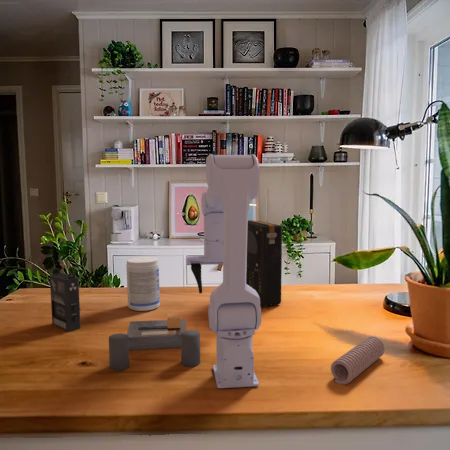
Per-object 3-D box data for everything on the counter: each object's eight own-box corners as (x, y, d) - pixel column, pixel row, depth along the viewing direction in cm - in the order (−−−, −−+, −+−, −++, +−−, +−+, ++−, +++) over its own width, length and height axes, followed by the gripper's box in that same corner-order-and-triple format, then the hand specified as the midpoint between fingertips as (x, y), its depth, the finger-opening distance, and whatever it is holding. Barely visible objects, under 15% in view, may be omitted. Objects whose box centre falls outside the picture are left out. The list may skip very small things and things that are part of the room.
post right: (200, 366, 94) (200, 336, 93) (181, 367, 93) (181, 337, 92) (199, 358, 97) (199, 329, 97) (181, 359, 97) (180, 330, 96)
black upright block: (236, 296, 146) (236, 220, 143) (259, 292, 149) (259, 219, 146) (260, 309, 132) (260, 225, 128) (284, 305, 135) (285, 224, 132)
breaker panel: (187, 347, 104) (187, 333, 103) (126, 350, 102) (125, 336, 102) (185, 330, 114) (185, 318, 114) (130, 332, 113) (130, 320, 112)
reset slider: (180, 328, 107) (180, 317, 107) (167, 328, 107) (167, 318, 106) (180, 323, 110) (179, 313, 110) (167, 324, 110) (167, 314, 109)
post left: (128, 370, 92) (127, 340, 91) (108, 371, 91) (107, 341, 91) (130, 362, 96) (129, 333, 95) (111, 363, 95) (110, 333, 95)
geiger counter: (86, 328, 117) (84, 272, 115) (70, 332, 113) (67, 275, 111) (66, 319, 123) (63, 266, 122) (50, 323, 120) (47, 269, 118)
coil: (365, 333, 100) (327, 359, 87) (385, 336, 97) (349, 364, 84) (366, 354, 100) (328, 382, 87) (387, 357, 97) (351, 388, 84)
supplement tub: (165, 308, 133) (164, 260, 131) (136, 314, 128) (134, 264, 126) (150, 300, 141) (149, 255, 139) (122, 306, 135) (121, 258, 134)
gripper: (243, 237, 116) (243, 287, 118) (187, 237, 116) (188, 288, 117) (244, 241, 109) (244, 295, 111) (185, 241, 109) (186, 295, 110)
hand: (215, 292), depth 114 cm, fingers open, 7 cm apart
